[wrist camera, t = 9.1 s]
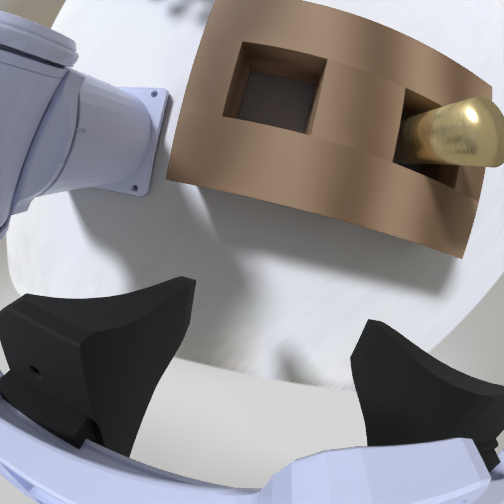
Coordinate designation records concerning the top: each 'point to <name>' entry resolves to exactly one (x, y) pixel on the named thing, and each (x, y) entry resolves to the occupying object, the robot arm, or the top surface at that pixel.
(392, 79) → the hole block
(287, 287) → the top surface
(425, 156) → the peg
